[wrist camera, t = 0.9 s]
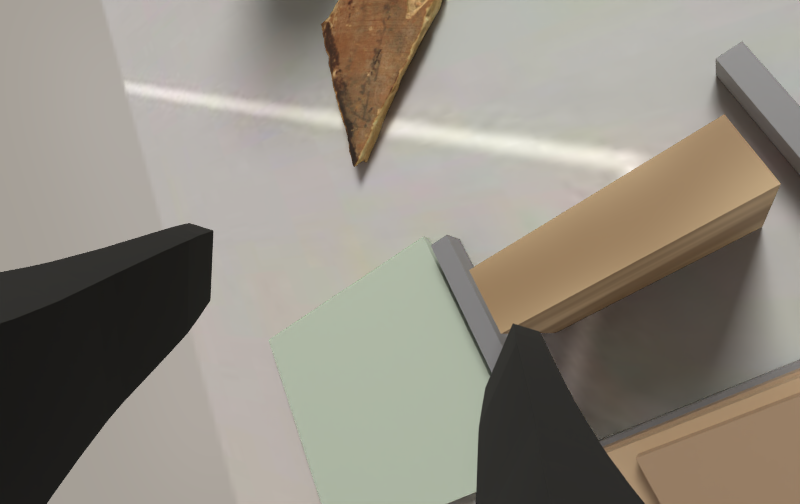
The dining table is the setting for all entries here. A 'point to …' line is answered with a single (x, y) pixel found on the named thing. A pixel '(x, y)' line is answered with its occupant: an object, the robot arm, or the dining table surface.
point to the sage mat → (387, 387)
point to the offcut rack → (714, 415)
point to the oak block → (631, 232)
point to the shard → (372, 60)
